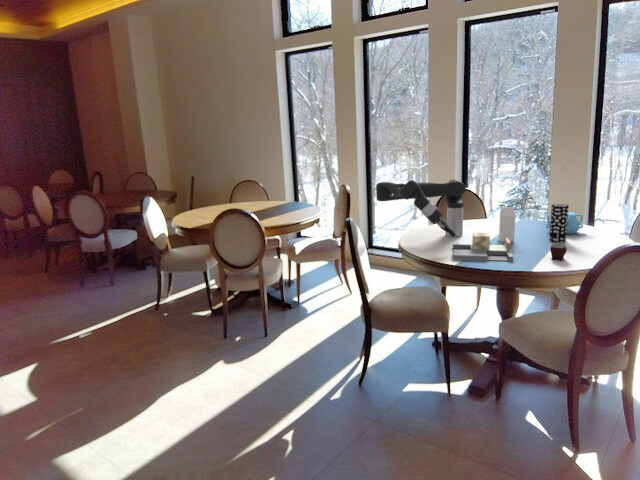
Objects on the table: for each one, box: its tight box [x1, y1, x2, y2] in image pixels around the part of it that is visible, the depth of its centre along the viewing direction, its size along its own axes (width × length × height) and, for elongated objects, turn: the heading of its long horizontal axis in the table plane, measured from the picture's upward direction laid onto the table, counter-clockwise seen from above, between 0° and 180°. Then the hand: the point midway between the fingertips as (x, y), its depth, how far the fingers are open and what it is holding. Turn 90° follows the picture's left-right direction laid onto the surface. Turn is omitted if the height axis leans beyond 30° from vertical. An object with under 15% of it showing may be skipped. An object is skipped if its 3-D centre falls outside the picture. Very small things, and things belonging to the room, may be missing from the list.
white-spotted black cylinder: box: [548, 203, 570, 243], centre depth 274 cm, size 8×8×20 cm
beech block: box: [471, 232, 491, 250], centre depth 259 cm, size 8×8×7 cm
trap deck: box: [452, 238, 514, 262], centre depth 255 cm, size 28×22×6 cm
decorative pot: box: [545, 209, 584, 235], centre depth 293 cm, size 16×16×14 cm
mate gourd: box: [549, 232, 568, 262], centre depth 241 cm, size 8×8×15 cm
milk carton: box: [498, 206, 516, 243], centre depth 280 cm, size 7×7×19 cm
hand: (454, 235), depth 261 cm, fingers closed
